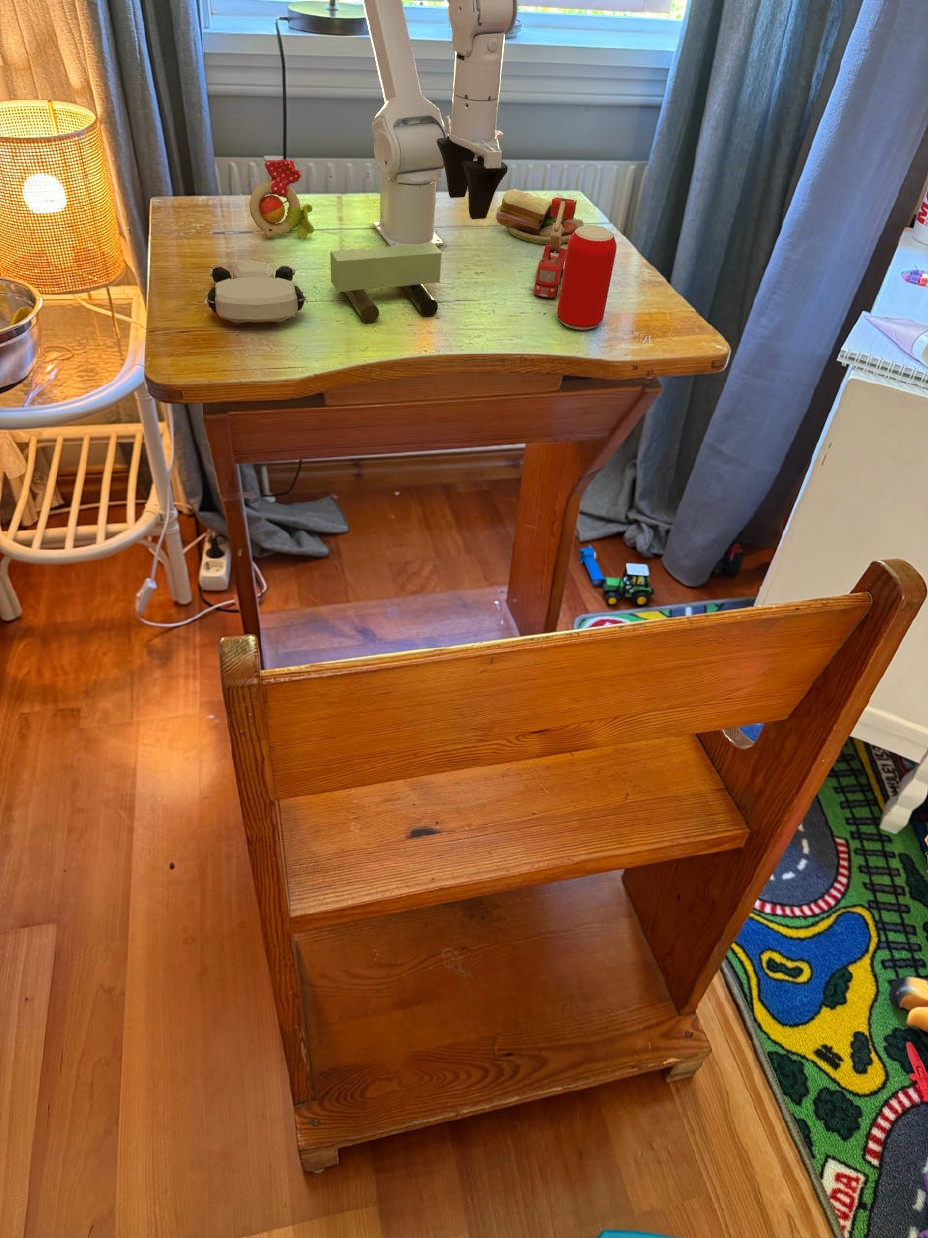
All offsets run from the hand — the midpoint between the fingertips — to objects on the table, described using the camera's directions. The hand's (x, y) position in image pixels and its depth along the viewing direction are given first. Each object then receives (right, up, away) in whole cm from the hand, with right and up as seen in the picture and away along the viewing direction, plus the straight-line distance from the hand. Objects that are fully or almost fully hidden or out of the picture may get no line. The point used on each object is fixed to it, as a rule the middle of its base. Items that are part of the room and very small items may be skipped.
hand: (467, 207), depth 123 cm
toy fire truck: (+12, -7, +8) cm, 16 cm away
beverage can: (+15, -16, -1) cm, 22 cm away
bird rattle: (-27, +1, +12) cm, 29 cm away
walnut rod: (-15, -14, -2) cm, 20 cm away
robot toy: (-27, -16, -6) cm, 32 cm away
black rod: (-7, -12, 0) cm, 14 cm away
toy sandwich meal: (+11, +5, +21) cm, 24 cm away
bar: (-11, -11, -3) cm, 16 cm away
